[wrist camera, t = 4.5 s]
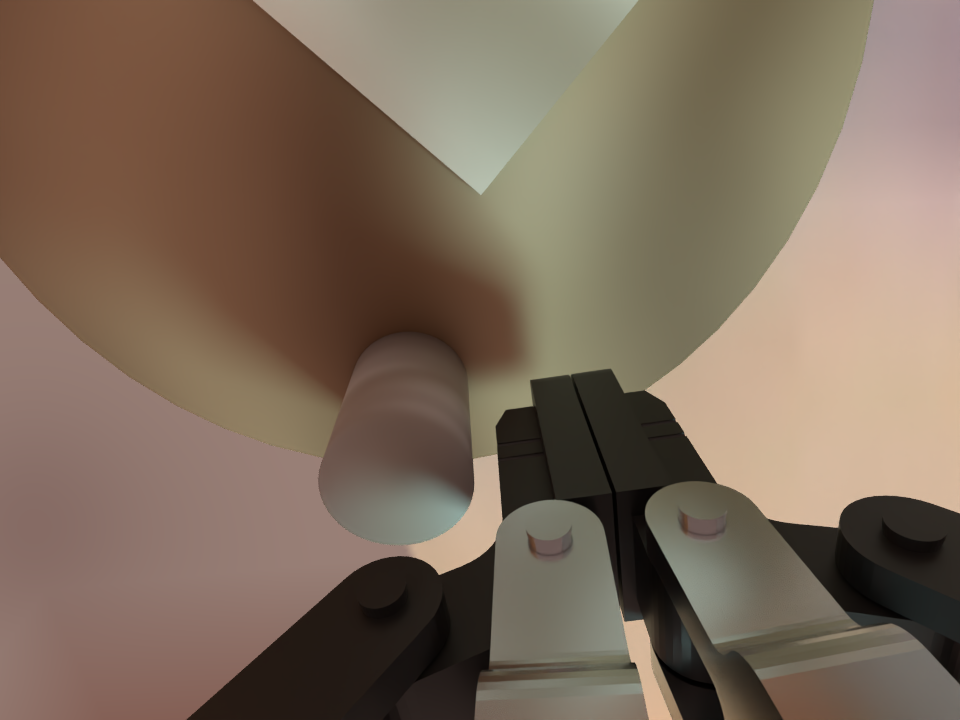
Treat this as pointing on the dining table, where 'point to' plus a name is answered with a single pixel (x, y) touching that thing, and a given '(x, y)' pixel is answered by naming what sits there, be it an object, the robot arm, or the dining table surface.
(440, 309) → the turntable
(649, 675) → the dining table surface
